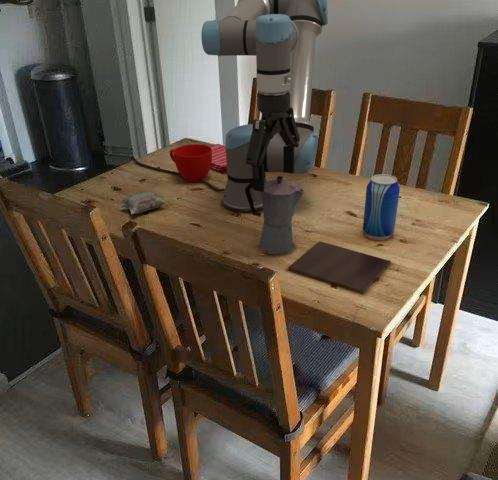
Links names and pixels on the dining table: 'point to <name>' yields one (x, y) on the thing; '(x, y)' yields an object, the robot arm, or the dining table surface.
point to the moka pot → (277, 214)
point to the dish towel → (219, 158)
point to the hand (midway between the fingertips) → (274, 181)
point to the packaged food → (142, 202)
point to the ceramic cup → (192, 161)
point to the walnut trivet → (340, 266)
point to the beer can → (381, 207)
